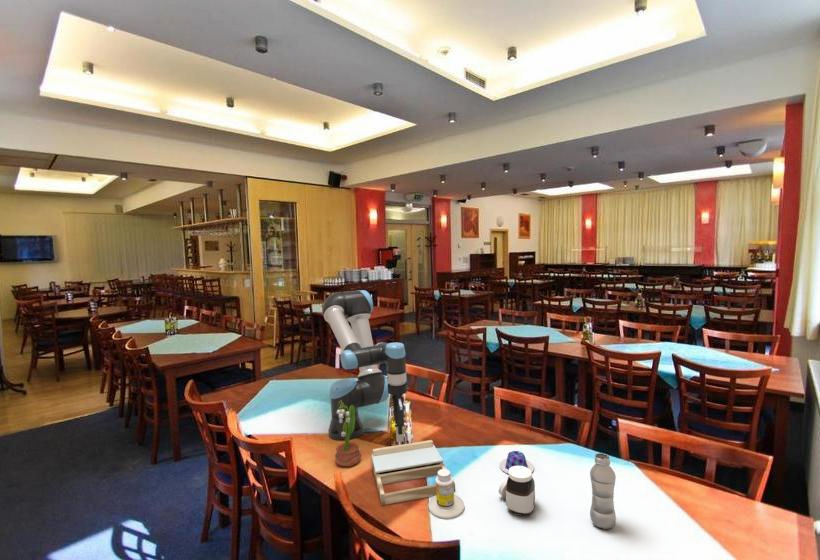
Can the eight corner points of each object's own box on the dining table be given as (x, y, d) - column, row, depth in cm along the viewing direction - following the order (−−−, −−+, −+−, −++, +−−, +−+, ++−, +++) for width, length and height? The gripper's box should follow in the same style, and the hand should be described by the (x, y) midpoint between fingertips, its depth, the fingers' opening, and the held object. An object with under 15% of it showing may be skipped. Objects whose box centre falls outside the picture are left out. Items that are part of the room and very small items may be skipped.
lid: (371, 455, 151) (370, 449, 151) (433, 445, 157) (433, 439, 156) (375, 473, 139) (375, 466, 139) (443, 461, 144) (442, 455, 144)
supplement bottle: (439, 497, 128) (438, 466, 127) (456, 500, 126) (455, 468, 125) (434, 507, 123) (432, 475, 122) (451, 511, 121) (450, 478, 120)
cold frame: (371, 463, 152) (371, 456, 152) (433, 453, 157) (433, 446, 157) (381, 505, 127) (381, 496, 127) (455, 491, 132) (454, 483, 132)
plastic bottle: (585, 518, 116) (584, 451, 115) (607, 515, 117) (607, 449, 116) (597, 533, 110) (596, 463, 109) (621, 531, 111) (620, 461, 109)
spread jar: (529, 522, 116) (528, 483, 115) (491, 510, 122) (490, 473, 121) (539, 499, 126) (538, 463, 125) (504, 489, 132) (503, 455, 131)
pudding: (541, 473, 141) (540, 458, 140) (511, 480, 137) (510, 466, 137) (521, 456, 152) (521, 443, 152) (493, 463, 149) (493, 449, 148)
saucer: (424, 499, 129) (424, 496, 129) (457, 493, 131) (457, 490, 131) (434, 522, 118) (434, 518, 118) (469, 515, 120) (469, 511, 120)
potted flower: (354, 472, 147) (350, 405, 145) (329, 470, 149) (324, 404, 147) (364, 455, 158) (361, 393, 157) (341, 454, 160) (337, 393, 159)
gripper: (384, 378, 163) (388, 435, 165) (390, 389, 150) (393, 450, 152) (403, 376, 164) (406, 432, 166) (410, 386, 152) (413, 447, 154)
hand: (400, 440), depth 159 cm, fingers closed
